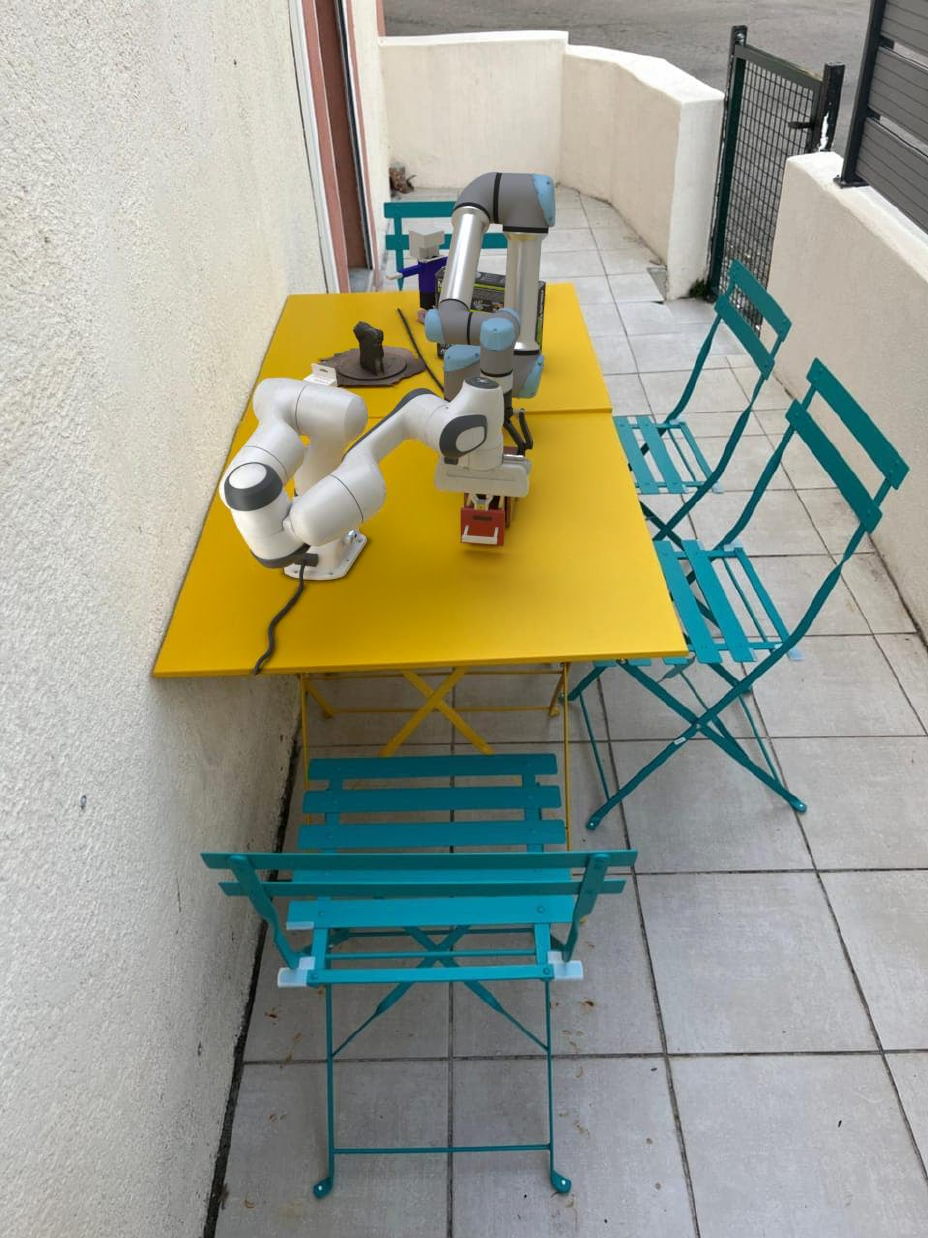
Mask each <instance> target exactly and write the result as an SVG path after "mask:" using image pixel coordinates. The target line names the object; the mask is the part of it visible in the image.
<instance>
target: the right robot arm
mask: <svg viewBox="0 0 928 1238" xmlns="http://www.w3.org/2000/svg"><path fill="white" fill-rule="evenodd" d="M555 191H556V190H555V183H554V180H553V179H552V177H551V176H549V175H547V174H540V173H535V172H533V173H528V172H527V173H526V172H525V173H524V172H498V171H491V172H490V171H489V172H485V173H483V174H481V175H479V176H477V177H475V178H473V180H471V182H469V183H468V184H467V185H466V187H464V189H463V190H462V191H461V192H460V194H459V196H458V197H457V199H456V201H455V203H454V206H453V209H452V212H451V218H450V221H451V225H452V227H453V228H452V234H451V239H450V243H449V249H448V253H447V254H448V255H447V256H448V259H447V264H446V266H445V267H446V269H445V274H444V279H443V284H442V289H441V294H440V299H439V304H438V309H430V310H428V312H427V314H426V317H425V324H424V335H425V339H426V340H427V341H428V342H429V343H435V344H437V343H440V344H456V345H454V346H452V347H450V348H449V349H448V350H447V351H446V352H445V354H444V358H443V365H442V370H443V385H442V383H441V382H440V381H439V380H438V378H437V377H436V376H435V374H434V373H433V372H432V370H431V369H430V367H429V366H428V364H427V362H426V361H424V360H425V359H424V357H423V355H422V354H421V351H420V350H419V348H418V346H417V343H416V342H415V339H414V337H413V334H412V332H411V329H410V327H409V325H408V322H407V320H406V318H405V316H404V314H403V312H402V311H401V309H400V308H397V311H398V313H399V315H400V317H401V319H402V322H403V323H404V326H405V327H406V330H407V332H408V335H409V337H410V340H411V342H412V344H413V347H414V349H415V351H416V353H417V355H418V358H419V359H422V360H423V362H424V364H425V369H426V370H427V372H428V373H429V374H430V376H431V378H433V380H434V381H435V382H436V384H437V385H438V387H440V389H441V391H442V392H443V399H444V400H446V401H447V402H449V403H450V402H451V401H452V400H453V399H454V398H455V397H456V396H457V395H458V393H459V392H460V390H461V389H462V385H463V382H464V380H465V379H466V378H468V377H472V376H481V377H486V378H489V379H491V380H493V381H495V382H497V383H498V384H499V385H500V386H501V389H502V393H503V399H504V422H503V426H502V428H504V430H505V431H506V432H507V433H508V434H509V437H511V439H512V441H513V442H514V443H515V445H516V447H518V450H517V455H523V456H525V457H526V453H527V452H526V451H527V450H529V451H531V450H533V448H534V439H533V437H532V434H531V431H530V427H529V425H528V422H527V420H526V409H525V408H524V407H521V408H520V409H514V408H513V399H517V400H519V399H525V400H526V399H527V400H528V399H529V400H531V399H533V398H535V397H536V395H538V392H539V387H540V384H541V380H542V376H543V375H542V374H543V370H544V365H545V359H546V357H545V355H544V354H543V353H542V354H539V350H540V347H539V346H538V344H537V343H536V342H535V327H536V313H537V299H538V285H539V280H540V271H541V270H540V269H541V257H542V243H543V241H544V240H545V239H546V238H547V237H548V236H549V233H550V232H549V230H550V229H551V228H553V227H555V226H556V213H557V211H556V209H557V208H556V192H555ZM494 224H495V225H502V229H501V233H502V234H503V235H504V237H505V238H506V240H507V247H506V265H505V275H506V279H505V296H504V308H501V309H499V310H497V311H496V312H495V313H481V312H469V311H470V306H471V300H472V295H473V290H474V284H475V279H476V273H477V271H478V267H479V263H480V257H481V251H482V247H483V240H484V235H485V234H487V232H488V231H489V229H490V225H494ZM513 416H514V417H515V419H516V420H518V424H519V427H520V430H521V433H522V435H523V437H522V436H521V434H520V433H519V431H518V430H517V428H516V427H515V426H514V424H513V421H512V419H511V418H513ZM524 460H525V459H524Z"/></svg>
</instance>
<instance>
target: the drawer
mask: <svg viewBox="0 0 928 1238" xmlns="http://www.w3.org/2000/svg"><path fill="white" fill-rule="evenodd" d="M476 496H477V497H478V499H481V500H486V499H487V498H486V494H476ZM506 508H507V496H498V495H493V499H492V500H491V501H490V503H489V507H488V511H486V510H475V509H474V503H473V501H472V500H471V499H470V497H469V496H468V500H467V504H466V508H464V507H460V543H461V544H470V545H471V544H472V545H486V546H498V547H499V546H500V547H504V545H505V513H506Z"/></svg>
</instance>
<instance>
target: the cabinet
mask: <svg viewBox="0 0 928 1238" xmlns="http://www.w3.org/2000/svg"><path fill="white" fill-rule="evenodd" d="M517 450H518V446H510V445H503V454H512V455H517ZM468 496H469V493H463V508H466V504H467V500H468ZM515 500H516V497H510V496H507V508H506V513H505V526H506V527H511V525H512V518H513V512H514V507H515V502H516V501H515Z"/></svg>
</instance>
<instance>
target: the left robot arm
mask: <svg viewBox="0 0 928 1238" xmlns="http://www.w3.org/2000/svg"><path fill="white" fill-rule="evenodd" d="M252 409H253V413H254V415H255V417H256V419H257V420H258V422H259V423H258V425H257V427H256V429H255V430H254V432H253V433H252V434H251V436H250V437H249V439H248V440H247V441H246V442H245V444H244V445H243V446H242V447H241V448H240V450H239V451H238V452H237V453H236V454H235V456H234V457H233V459H232V460H231V462H230V464H229V465H228V467H226V470H225V471H224V474H223V476H222V477H221V480H220V482H219V485H218V493H219V497H220V500H221V501H222V503H223V504H224V505H225V507H226V508H228V509H229V510H230V513H231V515H232V518H233V522H234V524H235V526H236V528H237V531H238V532H239V533H240V534H241V536H242V539H243V540H244V542H245V543H246V545H247V546H248V548H249V551H250V553H251V555H252V556H253V558H254V559H255V560H256V561H257V562H258V563H259V565H261V566H262V567H264V568H266V569H272V570H275V569H276V570H277V569H278V570H279V569H284V574H285V575H287V576H289V577H292V578H295V579H298V580H299V581H298V582H299V585H298V588H297V591H296V593H295V594H294V595H293V597H292V598H291V599H290V600H289V601H288V602H287V603H286V605H285V606H284V607H282V609H281V610H279V611H278V612H277V613H276V615H275V616H274V617H273V618H272V619H271V621H270V623H269V625H268V627H267V637H268V648H267V651H266V652H265V653H264V654H263V655H261V656H260V657H259V658H258V660H257V661H256V663H255V664H254V668H253V672H252V675H253V676H257V675H258V673H259V669H260V666H261V665H262V663H263V662H264V661H265V660H267V658H268V657H269V656H270V655H271V654H272V652H273V650H274V647H275V643H274V642H275V641H274V635H273V629H274V626H275V625H276V623H277V622H278V621H279V619H280V618H281V617H282V616H283V615H284V614H286V613H287V611H288V610H289V609H290V608H291V607H292V605H293V604H294V603H295V602H296V601H297V600H298V599H299V597H300V595H301V593H302V592H303V588H304V584H305V583H304V582H305V581H304V580H310V581H330V580H337V579H340V578H343V577H345V576H346V575H347V573H348V572H349V571H350V569H351V567H352V566H353V564H354V563H355V561H356V559H357V558H358V557H359V556H360V553H361V552H362V551H363V549H364V548H365V546H366V544H367V542H368V539H367V536H366V535H365V534H363V533H361V532H360V527H361V526H362V525H364V524H365V523H367V522H368V521H370V520H372V519H373V517H375V516H376V515H377V514H378V513H380V511H381V510H382V509H383V507H384V505H385V502H386V498H387V485H386V481H385V478H384V474H383V472H382V470H381V468H380V463H381V462H382V461H383V460H384V459H385V458H386V457H387V456H388V455H389V454H391V453H392V452H393V451H394V450H395V449H396V448H397V447H399V446H400V445H401V444H402V443H403V442H405V441H417V442H419V443H420V444H423V445H425V446H426V447H428V448H430V450H432V451H434V452H435V453H437V454H438V461H437V463H436V466H435V470H434V477H433V486H434V488H435V489H436V490H437V491H441V492H452V493H463V494H464V493H469V497H470V499H471V500H472V501H473V503H474V509H475V510H486V511H488V507H489V503H490V501H491V500H492V499H493V495H498V496H510V497H515V498H525V497H526V496H527V495H528V494H529V492H530V473H531V472H532V461H531V460H530V459H529V458H527V457H526V455H525V456H523V455H512V454H503V446H504V435H503V422H504V399H503V393H502V389H501V386H500V385H499V384H498V383H497V382H495V381H493V380H491V379H489V378H486V377H481V376H472V377H468V378H466V379H465V380H464V382H463V385H462V389H461V390H460V392H459V393H458V395H457V396H456V397H455V398H454V399H453V400H452V401H451V402H450V403H449V402H447V401H446V400H444V398H442V397H441V396H439V395H438V394H437V393H435V392H434V391H432V390H431V389H429V388H426V387H417V388H415V389H412V390H410V391H409V392H407V393H406V394H405V395H404V396H403V397H402V398H401V399H400V400H399V402H398V403H397V404H396V406H395V407H394V408H393V409H392V410H391V411H390V412H389V413H388V414H387V415H386V416H384V417H382V419H381V420H380V421H379V422H377V423H376V424H375V425H374V426H373V427H371V428H370V429H369V430H368V431H367V432H366V433H364V432H365V430H366V428H367V426H368V422H369V410H368V406H367V404H366V402H365V399H364V398H363V397H362V396H360V395H359V394H356V393H354V392H353V391H350V390H348V389H345V388H342V387H339V386H337V387H333V386H328V385H323V384H318V383H311V382H306V381H303V380H299V379H296V378H290V377H270V378H269V377H268V378H265V379H263V380H261V382H260V383H258V384H257V386H256V387H255V389H254V392H253V395H252ZM303 436H304V437H306V438H307V439H308V441H309V443H308V444H306V445H304V442H303V440H302V438H301V437H303ZM353 442H354V443H353ZM351 443H353V444H351ZM349 445H351V446H350V447H349ZM348 447H349V448H348ZM347 448H348V449H347ZM524 459H525V460H524ZM292 479H293V483H294V489H293V496H292V497H291V498H290V496H289V494H288V492H287V490H286V488H285V487H286V486H287V485H288V484H289V483H290V481H291V480H292ZM476 494H486V498H487V499H486V500H481V499H478V497H477V496H476ZM291 499H292V500H291Z"/></svg>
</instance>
